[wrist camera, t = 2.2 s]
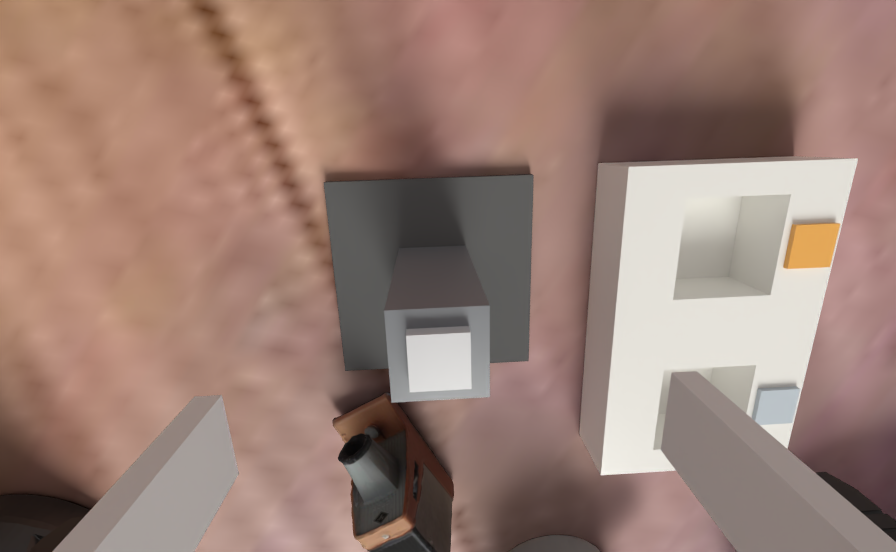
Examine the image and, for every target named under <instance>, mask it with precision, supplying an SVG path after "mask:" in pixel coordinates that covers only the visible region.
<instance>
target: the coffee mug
mask: <svg viewBox="0 0 896 552" xmlns="http://www.w3.org/2000/svg"><path fill="white" fill-rule="evenodd" d="M509 552H601V551H600V550H599V549H598V548H597V547H595V546H594V545H592V544H591V543H589V542H587V541H585V540H583V539H580V538H577V537H573V536H567V535H549V536H543V537H538V538H534V539H531V540H529V541H526V542H524V543H522V544H520V545H518V546H516V547H515V548H513V549H512V550H510V551H509Z"/></svg>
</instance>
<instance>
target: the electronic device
mask: <svg viewBox="0 0 896 552" xmlns="http://www.w3.org/2000/svg"><path fill="white" fill-rule="evenodd" d="M333 426H334V428H335V429H336V430H337V432H338V433H339V434H340V436H341V437H342V440H343V441H344V442H345V445H344V447H343V449H342V450H341V452H340V454H339V457H338V460H339V461H340V462H342V463H343V464H344V466H345V468H346V469H347V471H348V473H349V474H350V476H351V478H352V481H351V485H352V490H351V502H352V519H353V534H354V537H355V539H356V540H358V541H359V542H360V543H361V545H362V547H363V548H365V549H367V550H368V551H369V552H450V547H451V519H452V501H453V496H454V485H453V482H452V479H451V478H450V477H449V476H448V475H447V473H446V472H445V470H444V469H443V468H442V466H441V465H440V464H439V462H438V460H437V459H436V457H435V456H434V454H433V452H432V451H431V450H430V449H429V446H428V445H427V443H426V442H425V441H424V439H423V438H422V437H421V435H420V434H419V432H418V430H416V429H415V428H414V426H413V425H412V424H411V422H410V421H409V419H408V417H407V415H406V414H405V413H404V412H403V410H402V408H401V407H400V406H399V405H398V403H397V402H395V403H391V394H389V393H383V394H382V396H380V397H378V398H376V399H374V400H372V401H370V402H368V403H366V404H363V405H361V406H360V407H358V408H356V409H354V410H352V411H350V412H348V413H346V414H344V415H342V416H339V417H337V418H334V419H333Z"/></svg>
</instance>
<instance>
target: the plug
mask: <svg viewBox="0 0 896 552" xmlns="http://www.w3.org/2000/svg"><path fill="white" fill-rule="evenodd" d="M384 317H385V329H386V341H387V353H388V366H389V378H390V390H391V403H395V402H412V401H430V400H447V399H465V398H482V397H490V305H489V303H488V300H487V298H486V295H485V293H484V290H483V288H482V285H481V283H480V280H479V277H478V275H477V272H476V270H475V267H474V265H473V262H472V260H471V257H470V255H469V252H468V250H467V247H466V245H464V246H441V247H418V248H399V251H398V255H397V259H396V263H395V267H394V271H393V276H392V280H391V284H390V288H389V292H388V296H387V300H386V304H385V309H384Z"/></svg>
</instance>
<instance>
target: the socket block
mask: <svg viewBox="0 0 896 552" xmlns="http://www.w3.org/2000/svg"><path fill="white" fill-rule="evenodd" d="M857 161H858V159H856V158H830V157H803V156H785V157H757V158H729V159H701V160H673V161H645V162H616V163H598V173H597V188H596V202H595V216H594V230H593V245H592V259H591V273H590V287H589V302H588V316H587V330H586V344H585V359H584V373H583V387H582V401H581V416H580V430H579V435H580V437H581V439H582V441H583V443H584V445H585V446H586V448H587V450H588V452H589V454H590V456H591V458H592V460H593V462H594V463H595V465H596V467H597V469H598V471H599V473H600V475H613V474H629V473H644V472H660V471H675V468H674V467H673V466H672V464H671V463H670V462H669V460H668V459H667V458H666V456H665V455H664V454H663V452H662V451H661V444H662V437H663V429H664V422H665V415H666V408H667V401H668V394H669V387H670V380H671V373H672V372H691V371H697V372H698V373H700V374H701V375H702V376H703V377H704V378H705V379H707V380H708V381H709V382H710V383H711V384H712V385H714V386H715V387H716V388H717V389H718V390H719V391H721V392H722V393H723V394H724V395H725V396H726V397H728V398H729V399H730V400H731V401H732V402H733V403H734V404H736V405H737V406H738V407H739V408H740V409H741V410H743V411H744V412H745V413H746V414H747V415H748V416H750V417H751V418H752V419H753V420H754V421H755V422H757V423H758V424H759V425H760V426H761V427H762V428H764V429H765V430H766V431H767V432H768V433H769V434H771V435H772V436H773V437H774V438H775V439H776V440H778V441H779V442H780V443H781V444H782V445H783V446H785V447H786V448H788V444H789V440H790V436H791V432H792V428H793V424H794V419H795V415H796V411H797V407H798V403H799V399H800V395H801V391H802V387H803V383H804V378H805V374H806V370H807V366H808V362H809V358H810V354H811V350H812V346H813V341H814V337H815V333H816V329H817V325H818V321H819V317H820V313H821V309H822V304H823V300H824V296H825V292H826V288H827V284H828V280H829V276H830V272H831V268H832V263H833V259H834V255H835V251H836V247H837V243H838V239H839V235H840V231H841V226H842V222H843V218H844V214H845V210H846V206H847V202H848V198H849V194H850V189H851V185H852V181H853V177H854V173H855V169H856V165H857Z"/></svg>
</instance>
